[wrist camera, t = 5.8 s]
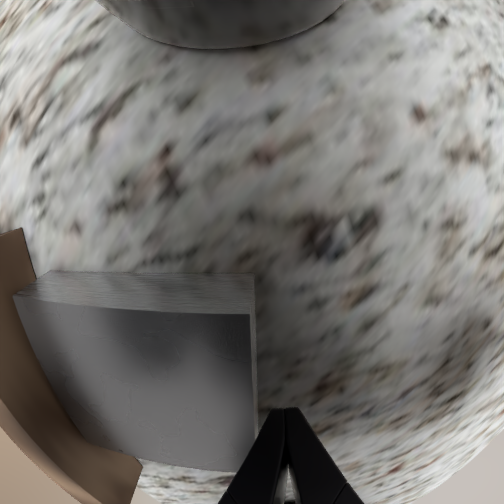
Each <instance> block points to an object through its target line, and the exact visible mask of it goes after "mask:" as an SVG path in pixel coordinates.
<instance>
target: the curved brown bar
mask: <svg viewBox="0 0 504 504" xmlns="http://www.w3.org/2000/svg"><path fill="white" fill-rule="evenodd" d="M35 280H36V277H35V274H34V271H33V268H32V265H31V262H30V258H29V255H28V251H27V247H26V244H25V240H24V236H23V231H22V228H19V229H15V230H12V231H9V232H6V233H3V234H0V426H1V428H2V429H3V430H4V431H5V432H6V434H7V435H8V436H9V437H10V438H11V440H13V442H14V443H15V444H16V445H17V446H18V447H19V448H20V449H21V450H22V452H23V453H24V454H25V455H26V456H27V457H28V458H29V459H30V460H32V462H33V463H34V464H36V466H38V467H39V468H40V469H41V470H42V471H43V472H44V473H45V474H46V475H47V476H48V477H49V478H51V479H52V480H53V481H54V482H55V483H56V484H58V485H59V486H60V487H61V488H62V489H64V490H65V491H66V492H67V493H69V494H70V495H71V496H72V497H74V498H75V499H76V500H78V501H79V502H80V503H82V504H130V503H131V500H132V497H133V494H134V491H135V488H136V485H137V482H138V480H139V477H140V474H141V471H142V468H143V467H142V466H141V464H140V463H139V462H138V461H137V460H136V458H135V457H133V456H129V455H126V454H122V453H119V452H115V451H112V450H109V449H105V448H102V447H99V446H96V445H93V444H90V443H88V442H87V441H86V439H85V438H84V437H83V435H82V434H81V432H80V431H79V430H78V428H77V427H76V425H75V424H74V422H73V421H72V419H71V418H70V416H69V415H68V413H67V412H66V410H65V408H64V407H63V405H62V403H61V402H60V400H59V398H58V397H57V395H56V393H55V392H54V390H53V388H52V386H51V384H50V383H49V381H48V379H47V377H46V375H45V373H44V371H43V369H42V367H41V365H40V363H39V361H38V359H37V357H36V355H35V353H34V350H33V348H32V346H31V344H30V341H29V339H28V337H27V334H26V332H25V329H24V327H23V324H22V322H21V319H20V317H19V314H18V311H17V308H16V305H15V302H14V299H13V295H14V294H16V293H17V292H19V291H20V290H21V289H23V288H24V287H26V286H27V285H29V284H30V283H32V282H33V281H35Z"/></svg>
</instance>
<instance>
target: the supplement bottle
mask: <svg viewBox="0 0 504 504" xmlns="http://www.w3.org/2000/svg"><path fill="white" fill-rule="evenodd" d="M95 1H96V2H98V3H99V4H100V5H102V6H103V7H104V8H106V9H107V10H108V11H109V12H111V13H112V14H113V15H115V16H116V17H118V18H119V19H120V20H121V21H123V22H124V23H125V24H126V25H128V26H129V27H131V28H132V29H134V30H135V31H137V32H138V33H140V34H142V35H144V36H146V37H148V38H151V39H153V40H156V41H159V42H162V43H166V44H170V45H175V46H180V47H188V48H198V49H227V48H239V47H248V46H253V45H259V44H264V43H268V42H273V41H277V40H280V39H283V38H287V37H290V36H292V35H295V34H298V33H300V32H302V31H304V30H307V29H309V28H311V27H313V26H314V25H316V24H318V23H320V22H322V21H323V20H324V19H326V18H327V17H329V16H330V15H331V14H332V13H334V12H335V11H336V10H337V9H338V8H339V7H340V6H341V5H342V4H343V2H344V1H345V0H95Z"/></svg>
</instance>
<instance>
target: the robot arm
mask: <svg viewBox="0 0 504 504" xmlns="http://www.w3.org/2000/svg"><path fill="white" fill-rule="evenodd" d="M288 466H289V472H290V477H291V482H292V488H293V493H294V498H295V503H296V504H364V503H363V501H362V500H361V499H360V498H359V496H358V495H357V494H356V492H355V491H354V490H353V488H352V487H351V486H350V484H349V483H347V480H346V479H345V477H344V476H343V474H342V473H341V471H340V470H339V468H338V467H337V465H336V464H335V463H334V461H333V460H332V458H331V457H330V455H329V454H328V452H327V451H326V449H325V448H324V446H323V445H322V443H321V442H320V440H319V439H318V437H317V435H316V434H315V432H314V431H313V429H312V428H311V426H310V425H309V423H308V422H307V420H306V418H305V417H304V415H303V414H302V412H301V411H300V409H299V408H298V407H287V408H285V409H284V408H274V409H272V410H271V411H270V413H269V415H268V417H267V419H266V421H265V423H264V425H263V426H262V428H261V430H260V432H259V434H258V436H257V438H256V440H255V441H254V443H253V445H252V447H251V449H250V451H249V452H248V454H247V456H246V458H245V460H244V461H243V463H242V465H241V467H240V468H239V470H238V472H237V473H236V475H235V477H234V478H233V480H232V482H231V483H230V485H229V487H228V488H227V491H228V492H227V491H226V492H225V493H224V495H223V496H222V498H221V499H220V501H219V502H218V504H284V500H285V492H286V483H287V475H288Z"/></svg>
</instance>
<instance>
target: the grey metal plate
mask: <svg viewBox="0 0 504 504" xmlns="http://www.w3.org/2000/svg"><path fill="white" fill-rule="evenodd" d="M13 299H14V302H15V305H16V308H17V311H18V314H19V317H20V319H21V322H22V324H23V327H24V329H25V332H26V334H27V337H28V339H29V341H30V344H31V346H32V348H33V350H34V353H35V355H36V357H37V359H38V361H39V363H40V365H41V367H42V369H43V371H44V373H45V375H46V377H47V379H48V381H49V383H50V384H51V386H52V388H53V390H54V392H55V393H56V395H57V397H58V398H59V400H60V402H61V403H62V405H63V407H64V408H65V410H66V412H67V413H68V415H69V416H70V418H71V419H72V421H73V422H74V424H75V425H76V427H77V428H78V430H79V431H80V432H81V434H82V435H83V437H84V438H85V439H86V441H87V442H88V443H90V444H93V445H96V446H99V447H102V448H105V449H109V450H112V451H115V452H119V453H122V454H126V455H129V456H133V457H137V458H141V459H145V460H150V461H154V462H159V463H164V464H169V465H175V466H181V467H187V468H195V469H202V470H211V471H222V472H236V473H237V472H238V470H239V468H240V467H241V465H242V463H243V461H244V460H245V458H246V456H247V454H248V452H249V451H250V449H251V447H252V445H253V443H254V441H255V440H256V438H257V436H258V393H257V354H256V315H255V278H254V273H120V272H79V271H49V272H47V273H46V274H44V275H43V276H41V277H39V278H38V279H36V280H35V281H33V282H32V283H30V284H29V285H27V286H26V287H24V288H23V289H21V290H20V291H19V292H17V293H16V294H14V295H13Z"/></svg>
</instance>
